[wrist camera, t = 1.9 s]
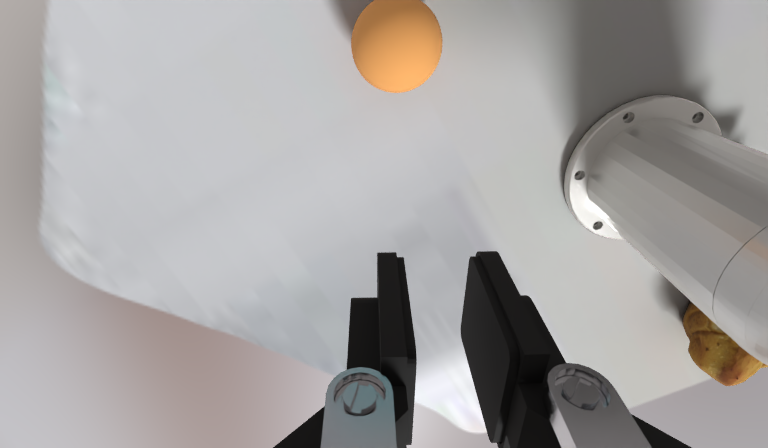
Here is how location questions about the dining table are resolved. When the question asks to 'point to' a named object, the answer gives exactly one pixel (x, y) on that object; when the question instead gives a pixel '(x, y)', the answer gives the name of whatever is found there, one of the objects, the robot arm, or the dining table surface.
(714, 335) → the bread roll
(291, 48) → the dining table surface
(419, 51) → the ball
